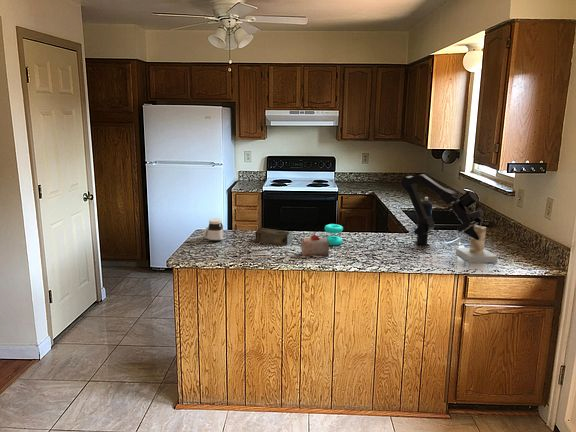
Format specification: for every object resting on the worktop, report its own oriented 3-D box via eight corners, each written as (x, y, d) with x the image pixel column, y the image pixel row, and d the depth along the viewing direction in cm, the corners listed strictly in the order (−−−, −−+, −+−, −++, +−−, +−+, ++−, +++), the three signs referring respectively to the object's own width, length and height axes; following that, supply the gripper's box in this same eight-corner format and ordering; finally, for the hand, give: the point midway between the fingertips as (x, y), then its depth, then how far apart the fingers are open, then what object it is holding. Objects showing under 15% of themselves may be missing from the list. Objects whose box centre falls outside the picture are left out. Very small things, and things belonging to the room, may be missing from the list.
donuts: (330, 222, 255) (346, 225, 249) (330, 239, 258) (345, 243, 252) (321, 226, 247) (337, 229, 242) (320, 243, 250) (336, 247, 244)
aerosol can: (421, 231, 277) (424, 198, 272) (414, 227, 285) (416, 196, 280) (433, 230, 280) (436, 198, 275) (425, 226, 287) (428, 195, 282)
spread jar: (221, 243, 248) (221, 222, 245) (200, 242, 248) (199, 222, 245) (224, 237, 259) (224, 217, 256) (204, 236, 259) (204, 216, 257)
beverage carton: (287, 246, 246) (287, 234, 244) (254, 242, 252) (254, 230, 250) (292, 241, 253) (292, 230, 251) (260, 238, 259) (260, 226, 258)
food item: (302, 257, 228) (303, 238, 225) (300, 252, 236) (300, 233, 233) (329, 256, 230) (330, 237, 227) (326, 251, 237) (327, 233, 235)
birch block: (469, 252, 230) (472, 227, 227) (473, 249, 234) (476, 225, 231) (479, 254, 227) (482, 229, 224) (483, 252, 230) (486, 227, 227)
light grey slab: (455, 253, 237) (456, 248, 236) (480, 252, 239) (481, 247, 238) (470, 263, 223) (470, 257, 222) (496, 261, 225) (497, 256, 225)
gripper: (466, 206, 220) (486, 233, 216) (481, 201, 233) (501, 226, 229) (448, 219, 228) (468, 245, 223) (465, 213, 241) (483, 237, 236)
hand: (480, 238), depth 227 cm, fingers open, 6 cm apart
